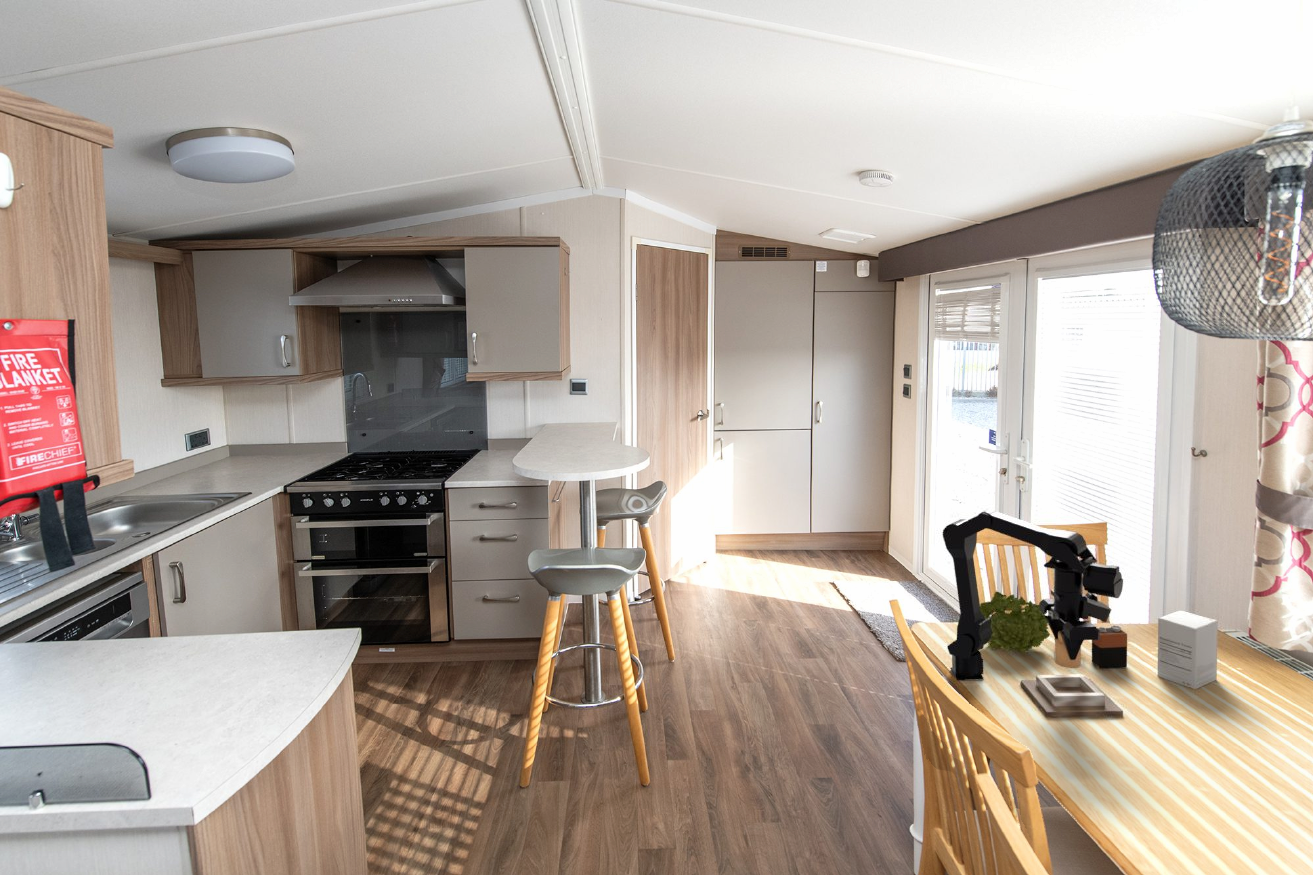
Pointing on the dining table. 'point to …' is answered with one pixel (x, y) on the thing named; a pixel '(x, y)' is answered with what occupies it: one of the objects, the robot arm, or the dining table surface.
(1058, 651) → the tan rounded cylinder
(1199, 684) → the supplement box
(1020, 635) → the green leafy plant
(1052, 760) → the dining table surface
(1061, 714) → the collar board
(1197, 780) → the dining table surface
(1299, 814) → the dining table surface
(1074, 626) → the robot arm
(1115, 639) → the battery
